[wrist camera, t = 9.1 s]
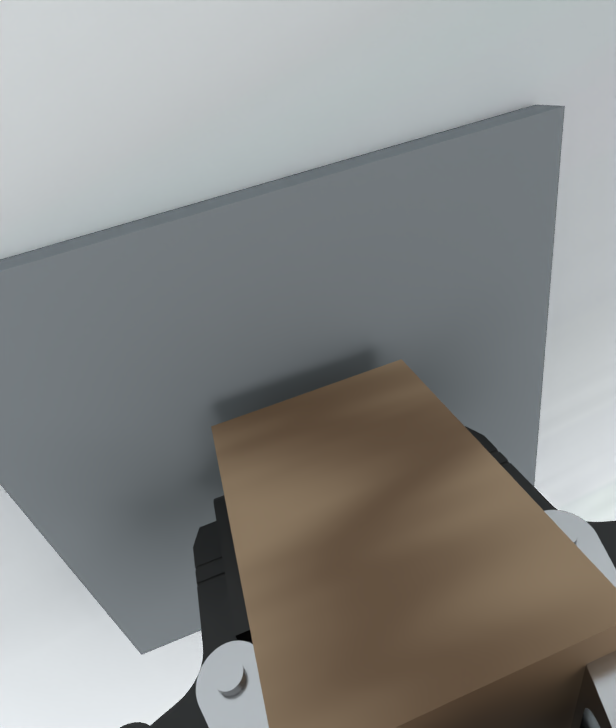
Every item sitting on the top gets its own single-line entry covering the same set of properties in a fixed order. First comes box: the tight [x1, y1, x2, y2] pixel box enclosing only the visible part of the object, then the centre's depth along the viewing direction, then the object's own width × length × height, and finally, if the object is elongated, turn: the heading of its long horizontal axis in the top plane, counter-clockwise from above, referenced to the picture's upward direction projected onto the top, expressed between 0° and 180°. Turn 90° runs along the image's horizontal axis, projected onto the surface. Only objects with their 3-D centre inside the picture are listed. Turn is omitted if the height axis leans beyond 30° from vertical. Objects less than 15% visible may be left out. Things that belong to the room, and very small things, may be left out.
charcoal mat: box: [0, 105, 565, 655], centre depth 15 cm, size 16×14×1 cm
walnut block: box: [211, 359, 616, 728], centre depth 10 cm, size 5×5×7 cm
